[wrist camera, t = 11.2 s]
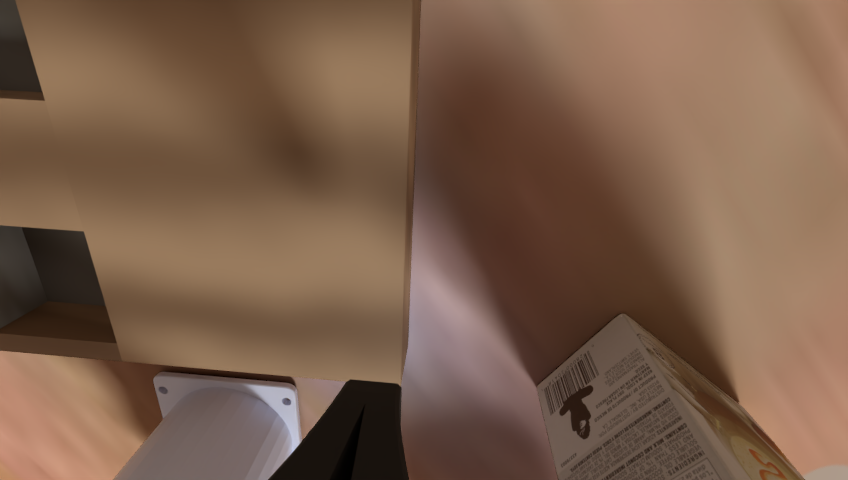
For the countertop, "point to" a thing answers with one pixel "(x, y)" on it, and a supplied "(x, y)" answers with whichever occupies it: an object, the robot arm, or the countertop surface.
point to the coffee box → (649, 417)
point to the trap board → (210, 183)
